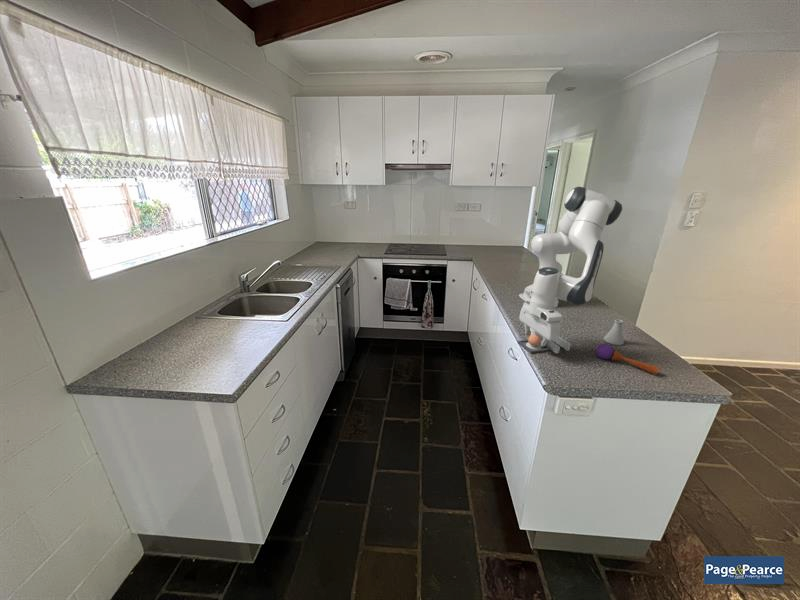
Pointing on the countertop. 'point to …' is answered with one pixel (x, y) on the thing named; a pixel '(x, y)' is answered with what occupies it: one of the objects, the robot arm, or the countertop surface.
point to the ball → (534, 340)
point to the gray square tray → (533, 347)
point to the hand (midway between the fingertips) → (534, 339)
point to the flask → (615, 333)
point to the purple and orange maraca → (623, 358)
